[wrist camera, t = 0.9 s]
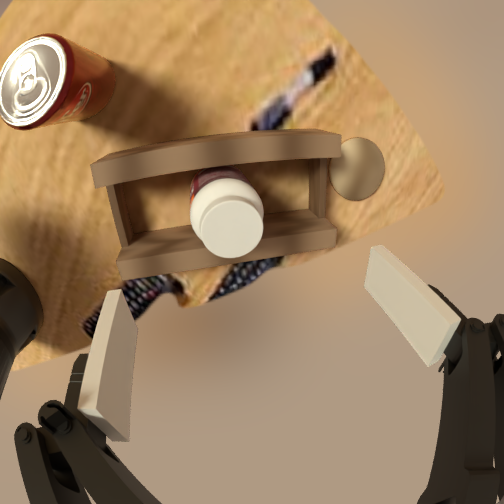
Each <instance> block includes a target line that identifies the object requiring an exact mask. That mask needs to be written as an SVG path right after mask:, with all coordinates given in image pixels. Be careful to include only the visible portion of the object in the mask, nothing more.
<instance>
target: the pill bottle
mask: <svg viewBox="0 0 504 504" xmlns="http://www.w3.org/2000/svg"><path fill="white" fill-rule="evenodd" d="M263 215H264V211H263V205H262V201H261V199H260V197H259V195H258V193H257V192H256V191H255V189H254V188H253V187H252V185H251V184H250V182H249V181H248V180H247V178H246V177H245V176H244V174H243V173H242V172H241V171H240V170H239V169H238V168H237V167H235V166H234V165H225V166H217V167H209V168H202V169H200V170H199V171H198V172H197V173H196V174H195V176H194V178H193V180H192V182H191V187H190V221H191V225H192V228H193V230H194V232H195V233H196V235H197V236H198V237H199V238H200V239H201V240H202V241H203V243H204V245H205V246H206V248H207V249H208V250H209V251H211V252H212V253H213V254H215V255H217V256H220V257H224V258H236V257H240V256H243V255H245V254H247V253H249V252H250V251H252V250H253V249H254V248H255V247H256V246H257V244H258V243H259V242H260V240H261V237H262V234H263Z"/></svg>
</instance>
